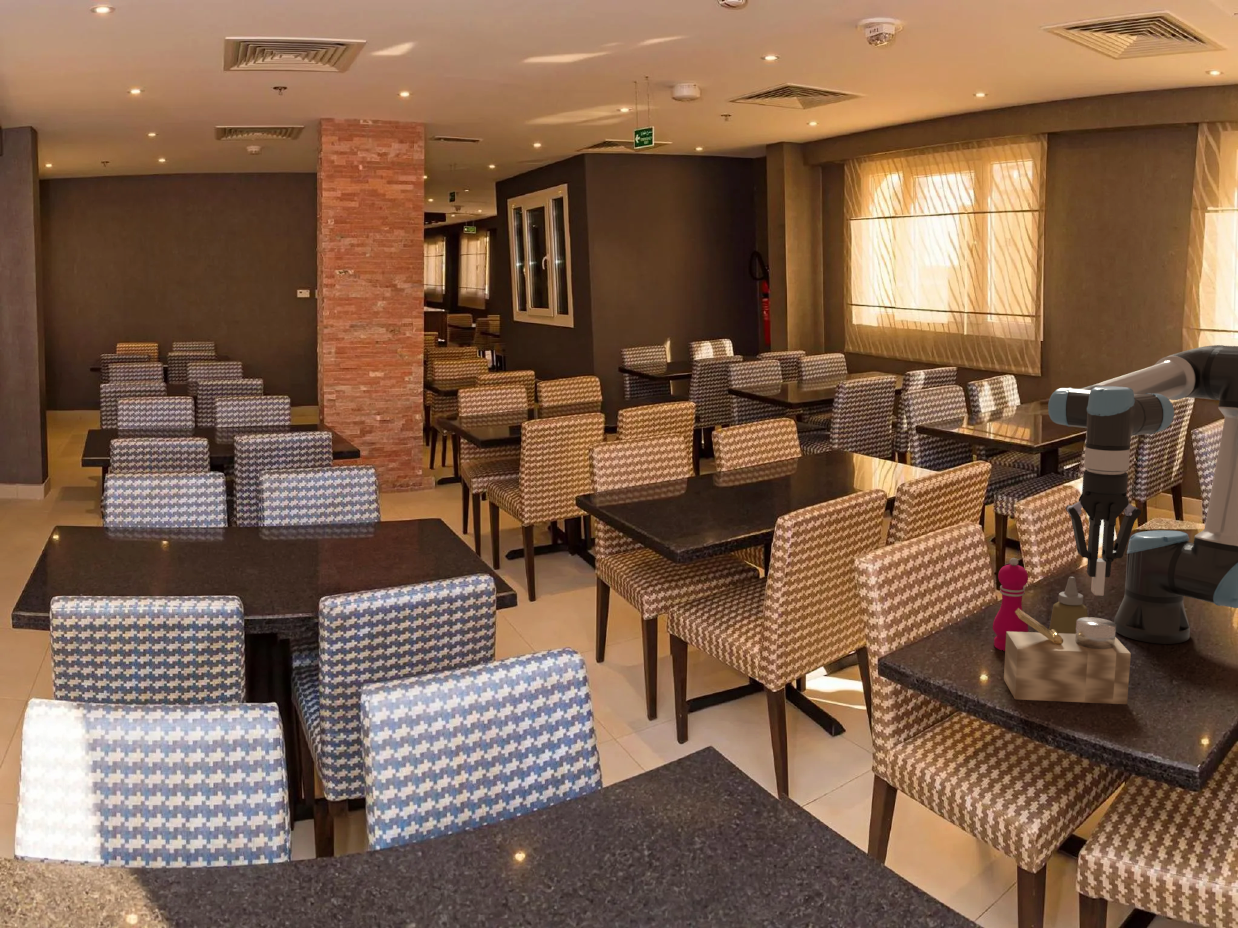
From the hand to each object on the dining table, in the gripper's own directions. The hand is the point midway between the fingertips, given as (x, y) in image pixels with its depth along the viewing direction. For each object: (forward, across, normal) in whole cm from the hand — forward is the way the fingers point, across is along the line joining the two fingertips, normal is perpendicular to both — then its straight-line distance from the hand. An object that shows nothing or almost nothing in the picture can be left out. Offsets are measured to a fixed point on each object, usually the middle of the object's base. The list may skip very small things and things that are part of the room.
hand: (1097, 593), depth 193 cm
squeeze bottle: (+20, 0, -17) cm, 26 cm away
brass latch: (+8, +10, 0) cm, 13 cm away
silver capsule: (+18, 0, 0) cm, 18 cm away
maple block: (+20, +5, 0) cm, 20 cm away
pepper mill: (+20, +10, -24) cm, 33 cm away
